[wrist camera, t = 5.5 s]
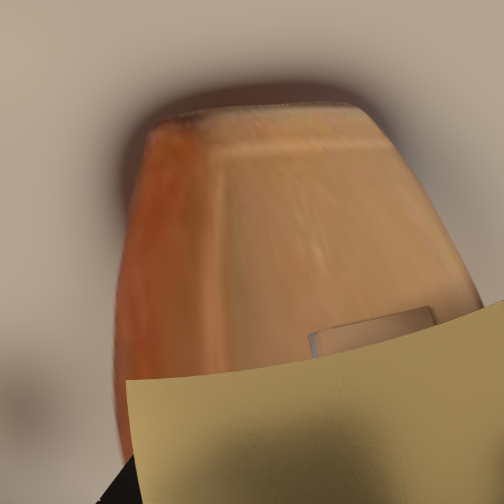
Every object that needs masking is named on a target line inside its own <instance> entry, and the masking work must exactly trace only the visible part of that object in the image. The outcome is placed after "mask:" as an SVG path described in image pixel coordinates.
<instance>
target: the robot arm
mask: <svg viewBox="0 0 504 504" xmlns="http://www.w3.org/2000/svg"><path fill="white" fill-rule="evenodd" d="M100 500H101V501H97V503H96V504H143V501H142V496H141V491H140V486H139V481H138V476H137V470H136V464H135V458H134V454H133V455H132V457H131V458H130V459H129V461H128V462H127V463H126V465H125V466H124V467H123V469H122V470H121V471H120V473H119V474H118V475H117V477H116V478H115V479H114V481H113V482H112V483H111V484H110V486H109V487H108V489H107V490H106V491H105V492H104V494H103V495H102V496H101V498H100Z"/></svg>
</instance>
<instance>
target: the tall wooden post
mask: <svg viewBox="0 0 504 504" xmlns="http://www.w3.org/2000/svg"><path fill="white" fill-rule="evenodd" d="M126 390H127V402H128V412H129V422H130V430H131V438H132V445H133V452H134V458H135V464H136V470H137V476H138V481H139V486H140V491H141V496H142V501H143V504H504V300H502V301H499V302H497V303H495V304H492V305H490V306H487V307H485V308H482V309H480V310H477V311H475V312H472V313H469V314H467V315H464V316H461V317H459V318H456V319H453V320H450V321H448V322H445V323H442V324H439V325H436V326H433V327H430V328H427V329H424V330H421V331H417V332H414V333H411V334H408V335H404V336H401V337H398V338H394V339H391V340H387V341H384V342H380V343H376V344H372V345H369V346H365V347H361V348H357V349H353V350H349V351H344V352H340V353H336V354H331V355H327V356H322V357H317V358H313V359H308V360H303V361H297V362H292V363H287V364H281V365H275V366H269V367H263V368H257V369H250V370H243V371H236V372H228V373H220V374H211V375H202V376H191V377H180V378H166V379H150V380H126Z"/></svg>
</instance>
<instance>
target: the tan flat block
mask: <svg viewBox="0 0 504 504" xmlns="http://www.w3.org/2000/svg"><path fill="white" fill-rule="evenodd" d="M433 326H435V324H434V321H433V318H432V316H431V313H430V310H429V307H428V306H426V307H422V308H418V309H414V310H411V311H407V312H403V313H399V314H395V315H391V316H387V317H383V318H378V319H374V320H370V321H365V322H361V323H356V324H351V325H347V326H342V327H337V328H332V329H327V330H322V331H319V332H318V333H312V334H309V336H308V337H309V341H310V345H311V350H312V354H313V358H317V357H322V356H327V355H331V354H336V353H340V352H344V351H349V350H353V349H357V348H361V347H365V346H369V345H372V344H376V343H380V342H384V341H387V340H391V339H394V338H398V337H401V336H404V335H408V334H411V333H414V332H417V331H421V330H424V329H427V328H430V327H433Z"/></svg>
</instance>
